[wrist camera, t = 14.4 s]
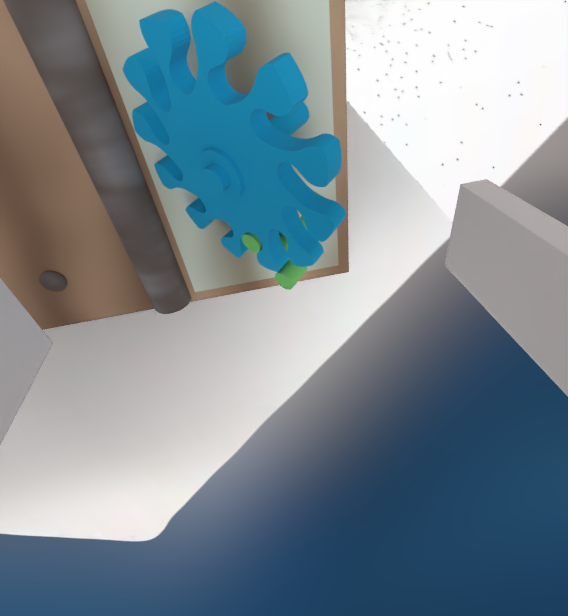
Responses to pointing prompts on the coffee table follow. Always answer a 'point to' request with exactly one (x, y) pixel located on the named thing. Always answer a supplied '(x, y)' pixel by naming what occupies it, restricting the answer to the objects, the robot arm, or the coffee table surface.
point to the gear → (235, 140)
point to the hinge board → (134, 157)
